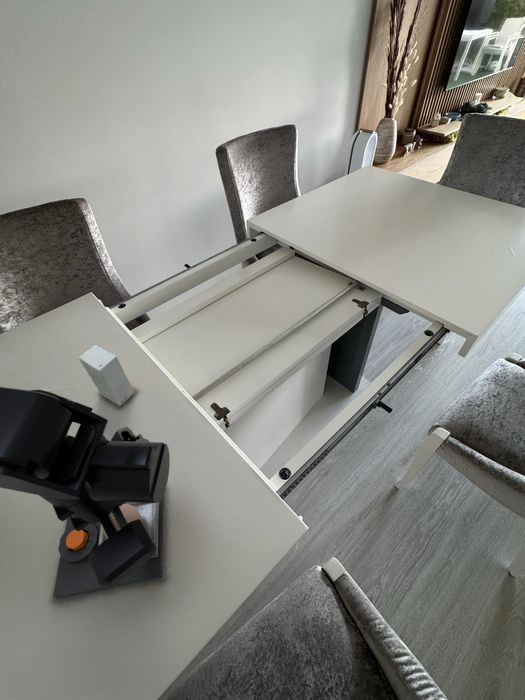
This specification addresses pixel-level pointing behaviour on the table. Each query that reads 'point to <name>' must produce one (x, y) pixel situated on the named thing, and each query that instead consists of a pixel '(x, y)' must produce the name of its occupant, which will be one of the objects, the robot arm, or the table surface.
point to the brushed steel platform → (149, 519)
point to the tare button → (76, 540)
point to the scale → (79, 572)
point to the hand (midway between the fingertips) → (119, 520)
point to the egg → (126, 515)
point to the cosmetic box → (107, 374)
